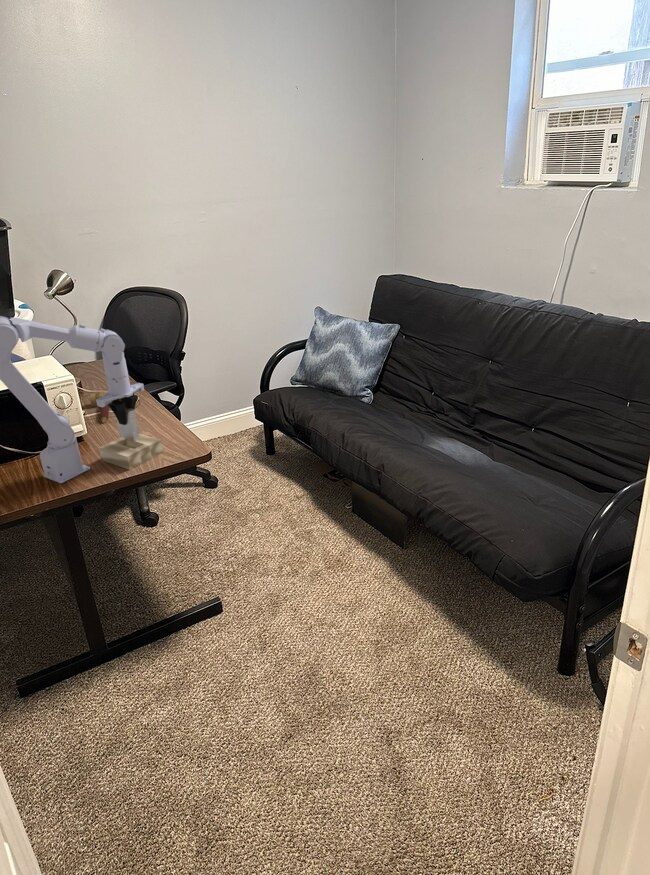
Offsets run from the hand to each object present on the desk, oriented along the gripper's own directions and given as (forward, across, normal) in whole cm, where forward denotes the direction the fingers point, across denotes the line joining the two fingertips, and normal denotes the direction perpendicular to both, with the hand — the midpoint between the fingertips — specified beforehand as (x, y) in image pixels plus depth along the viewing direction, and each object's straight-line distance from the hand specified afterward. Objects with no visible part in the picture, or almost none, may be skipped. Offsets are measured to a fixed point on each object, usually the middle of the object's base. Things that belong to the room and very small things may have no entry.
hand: (126, 422), depth 169 cm
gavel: (+11, +18, +35) cm, 41 cm away
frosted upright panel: (+5, 0, 0) cm, 5 cm away
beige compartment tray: (+10, 0, 0) cm, 10 cm away
